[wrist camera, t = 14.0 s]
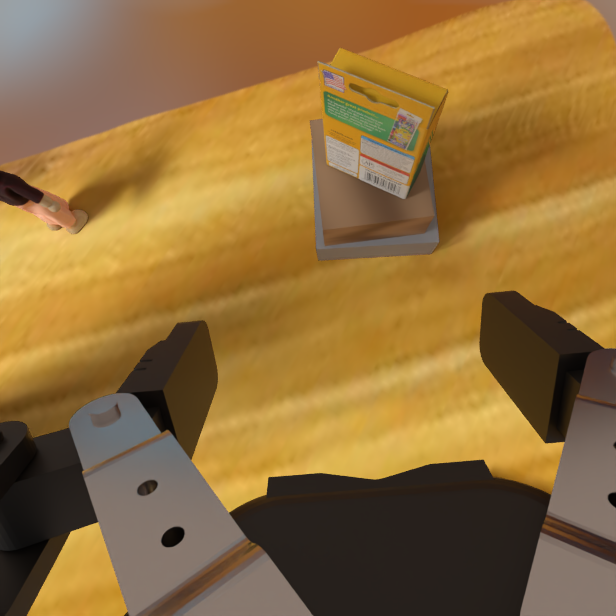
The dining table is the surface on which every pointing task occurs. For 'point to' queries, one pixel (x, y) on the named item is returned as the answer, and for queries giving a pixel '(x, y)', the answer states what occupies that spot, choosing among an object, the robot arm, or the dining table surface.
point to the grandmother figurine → (40, 204)
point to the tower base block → (379, 247)
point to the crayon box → (377, 120)
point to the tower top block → (366, 203)
